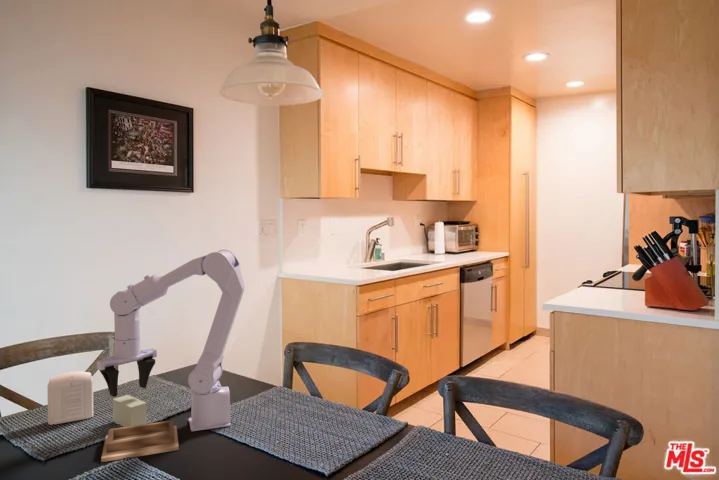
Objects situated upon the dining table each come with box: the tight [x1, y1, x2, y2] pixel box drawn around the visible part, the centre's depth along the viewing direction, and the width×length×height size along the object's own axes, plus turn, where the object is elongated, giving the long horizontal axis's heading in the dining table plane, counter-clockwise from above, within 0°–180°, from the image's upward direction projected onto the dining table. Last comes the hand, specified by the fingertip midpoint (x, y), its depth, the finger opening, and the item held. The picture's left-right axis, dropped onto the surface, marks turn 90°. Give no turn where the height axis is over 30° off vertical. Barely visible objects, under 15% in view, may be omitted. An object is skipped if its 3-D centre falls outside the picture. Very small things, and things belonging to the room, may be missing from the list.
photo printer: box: [47, 370, 94, 426], centre depth 131 cm, size 10×4×12 cm, turn 123°
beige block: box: [112, 394, 148, 427], centre depth 129 cm, size 4×9×6 cm, turn 52°
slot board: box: [100, 419, 180, 463], centre depth 118 cm, size 16×12×3 cm
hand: (128, 391), depth 128 cm, fingers open, 7 cm apart
